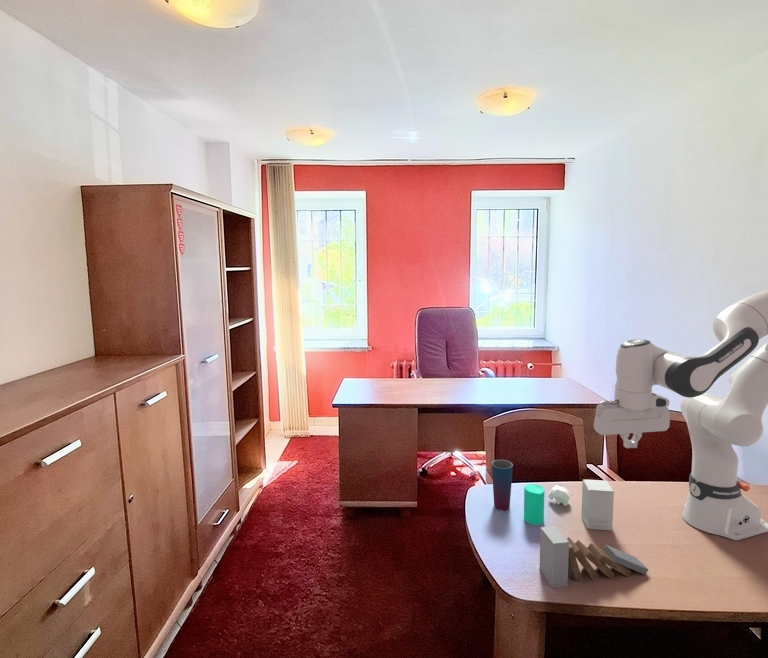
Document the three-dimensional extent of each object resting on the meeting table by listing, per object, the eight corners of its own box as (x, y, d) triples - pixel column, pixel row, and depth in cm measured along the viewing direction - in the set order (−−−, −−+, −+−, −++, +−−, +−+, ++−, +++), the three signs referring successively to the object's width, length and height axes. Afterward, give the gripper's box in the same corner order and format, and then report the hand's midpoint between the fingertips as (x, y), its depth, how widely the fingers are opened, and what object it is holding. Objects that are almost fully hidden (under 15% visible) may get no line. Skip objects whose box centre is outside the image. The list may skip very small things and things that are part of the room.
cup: (496, 499, 154) (497, 457, 152) (515, 505, 150) (516, 462, 148) (487, 507, 149) (488, 464, 147) (507, 514, 144) (507, 470, 142)
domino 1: (572, 567, 118) (562, 534, 116) (582, 580, 113) (572, 546, 111) (566, 569, 118) (556, 536, 116) (576, 582, 113) (566, 548, 111)
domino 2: (588, 563, 118) (569, 536, 117) (599, 576, 113) (579, 548, 112) (583, 567, 118) (564, 540, 116) (594, 580, 113) (574, 552, 112)
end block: (553, 567, 118) (555, 525, 117) (567, 586, 112) (568, 542, 110) (539, 569, 118) (540, 527, 116) (552, 588, 111) (553, 543, 109)
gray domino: (635, 557, 120) (605, 544, 118) (648, 569, 115) (617, 556, 113) (632, 562, 120) (602, 549, 118) (645, 574, 115) (614, 561, 113)
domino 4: (619, 559, 119) (590, 542, 117) (631, 571, 114) (601, 554, 113) (615, 564, 119) (587, 547, 118) (627, 576, 114) (598, 559, 113)
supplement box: (612, 531, 134) (614, 491, 132) (586, 529, 135) (587, 489, 134) (605, 517, 141) (607, 480, 139) (580, 515, 142) (582, 478, 141)
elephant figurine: (548, 495, 155) (549, 479, 154) (573, 500, 152) (574, 484, 151) (546, 505, 149) (546, 488, 148) (572, 510, 146) (572, 493, 145)
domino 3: (602, 561, 119) (578, 539, 117) (614, 574, 114) (589, 551, 112) (598, 565, 119) (574, 544, 117) (610, 578, 114) (584, 556, 112)
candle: (524, 523, 139) (525, 487, 137) (523, 513, 145) (523, 478, 143) (544, 525, 137) (545, 489, 136) (542, 515, 143) (543, 480, 142)
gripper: (603, 404, 117) (601, 454, 119) (675, 400, 120) (672, 449, 121) (590, 397, 124) (588, 445, 125) (658, 393, 126) (655, 440, 128)
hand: (630, 447), depth 123 cm, fingers closed
